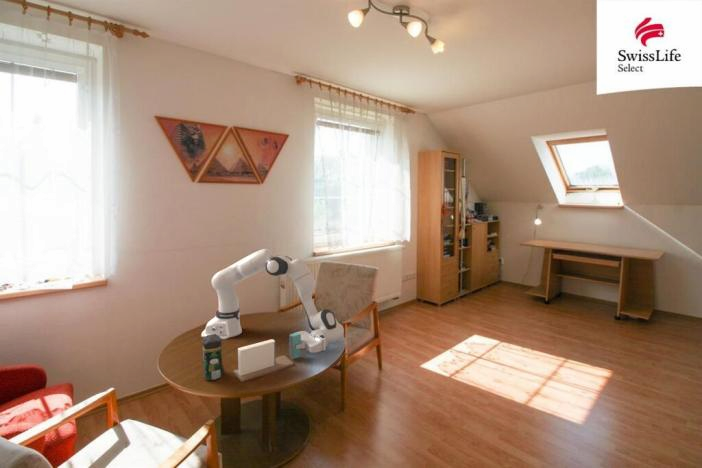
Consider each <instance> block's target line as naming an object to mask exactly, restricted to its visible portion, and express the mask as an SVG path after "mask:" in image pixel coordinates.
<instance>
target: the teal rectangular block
mask: <svg viewBox="0 0 702 468" xmlns="http://www.w3.org/2000/svg"><path fill="white" fill-rule="evenodd" d="M296 332H297V333H295V332H294V333H290V334H288V357H289V358H290V360H291V359H292V360H293V359H296V358H297V359H298V358H300V357H302V348H299V349H296V348H295V345H296V344H301V334H300V333H298V332H299V331H296Z"/></svg>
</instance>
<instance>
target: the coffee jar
mask: <svg viewBox="0 0 702 468" xmlns="http://www.w3.org/2000/svg"><path fill="white" fill-rule="evenodd" d="M222 349H223V348H222V339H221V338H220V336H218V335H216V334H212V335H207V336H206V337H203V339H202V365H203V364H204V367H203V376H204V379H205V380H206V381H215V380H219V379H221V378H222V376H223V372H222V368H223V353H222V352H223V351H222Z"/></svg>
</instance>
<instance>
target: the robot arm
mask: <svg viewBox="0 0 702 468" xmlns="http://www.w3.org/2000/svg"><path fill="white" fill-rule="evenodd" d="M263 270H265V271H266V272H267V273H268V275H270V276H273V277H279V276H284V275H289V277H290V278H291V280H292V282H293V283H294V286H295V288H296V290H297V294H298V298H299V300H300V303H301V306H302V308H303V309H304V312H305V314H306V317H307V322H308V326H309V327H308V328H310V330H311V332H308V331H306V330H300V331H296V332H294V333H297V332H298V333H300V334H301V344H296V345H295V348H296V349H299V348H301V349H306V350H307V351H309V353H311V354H316V353H320V352H322V351H323V352H324V351H326V349H327V344H328V345H329V344H333V343H336V342H338V341H340V340H341V339H343V337H344V334H345V329H344V326H343V325H342V324H340V322H339V321H338V320H337V318H336V314H335V312H333V310H331V309H329V308H325V309H323V310H320V311H319V312H318V310H317V308H316V306H315V304H314V300H313V297H312V296H313V292H314V290H315V287H316V281H315V277H314V275H313V273H312V271H311V269H310V268H309V267H308V265H307V264H306V263H305V262H304V261H303V260H302V259H301V258H295V259H292V258H291V257H289V256H287V255H275V254H274V253H273V251H272V250H270V249H269V248H262V249H260V250H257V251H255V252H253V253H251V254H248V255H247V256H245V257H243V258H241V259H239V260H238V261H236V262H235V263H233V264H231V265H229V266H228V267H226V268H224V269H221V270H220V271H218V272H216V273H215V274H214V275H213V277H212V278H211V280H210V281H211V285H212V288H213V289H214V290H215V291H216V294H217V297H218V308H217V309H216V310H215V312H214V315H215V316H214V317H213V318H212V319H210V320H209V321H208V322H207V324H206V325H205V329H204V330H203V331H202V332H201V338H205V337H206V336H207V335H212V334H216V335H218V336H220V338H221V340H227V339H229V338H233V337H236V336H239V335H240V334H242V332H243V330H242V326H241V322H240V318H241V312H240V308H239V306H240V305H239V304H240V303H239V295H238V294H237V291H236V288H235V287H236V285H237V284H238V283H240V282H242V281H244V280H246V279H248V278H250V277H252V276H254V275H256V274H257V273H260V272H261V271H263Z"/></svg>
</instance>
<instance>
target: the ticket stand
mask: <svg viewBox="0 0 702 468" xmlns="http://www.w3.org/2000/svg"><path fill="white" fill-rule="evenodd" d="M237 364H238V365H237V366H238V367H237V368H238V369H233V374H234V375H235V376H236V378H238V380H239V381H240V382H241V383H243V382H246V381H249V380H252V379H255V378H258V377H261V376H264V375H265V376H266V375H267V374H270V373H274V372H277V371H280V370H283V369H286V368H288V367H289V368H290V367H292V366H294V365H295V364H294V362H293V361H292V360H291V359H289V358H288V357H287V356H286V355H285V354H284V355H280V356H277V357H276V341H275V340H274V338H273V339H268V340H264V341H259V342H257V343H251V344H249V345H244V346H241V347H238V348H237Z"/></svg>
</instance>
